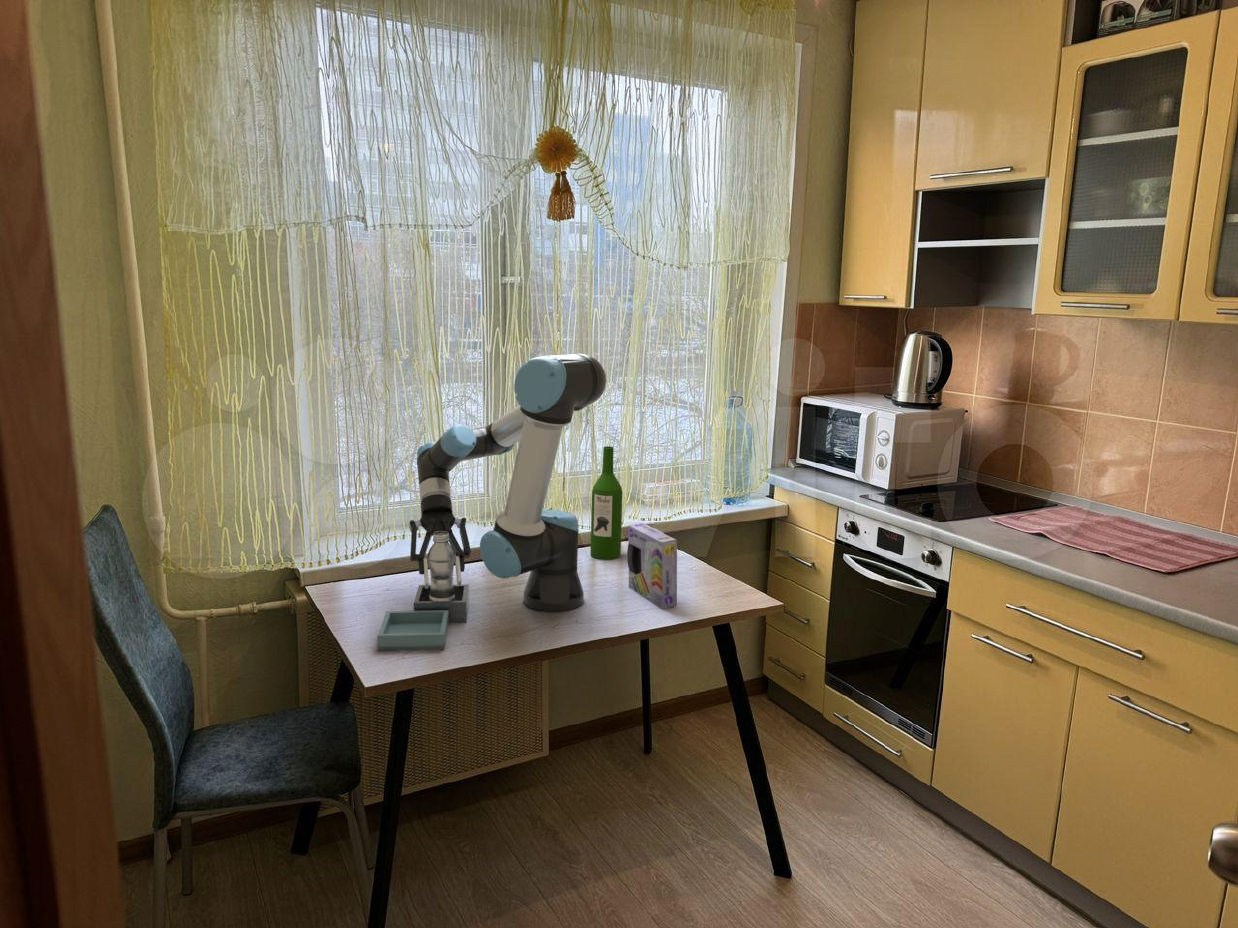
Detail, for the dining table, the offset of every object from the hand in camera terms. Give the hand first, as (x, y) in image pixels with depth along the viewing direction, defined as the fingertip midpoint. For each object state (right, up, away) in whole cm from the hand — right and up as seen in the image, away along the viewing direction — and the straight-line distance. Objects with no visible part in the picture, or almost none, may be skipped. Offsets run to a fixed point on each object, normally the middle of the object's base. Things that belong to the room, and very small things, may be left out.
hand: (443, 584), depth 202 cm
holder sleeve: (-1, -8, +5) cm, 9 cm away
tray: (-5, -10, -9) cm, 15 cm away
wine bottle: (+37, +1, +52) cm, 64 cm away
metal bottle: (-1, -8, +5) cm, 9 cm away
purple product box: (+49, -6, +20) cm, 54 cm away
